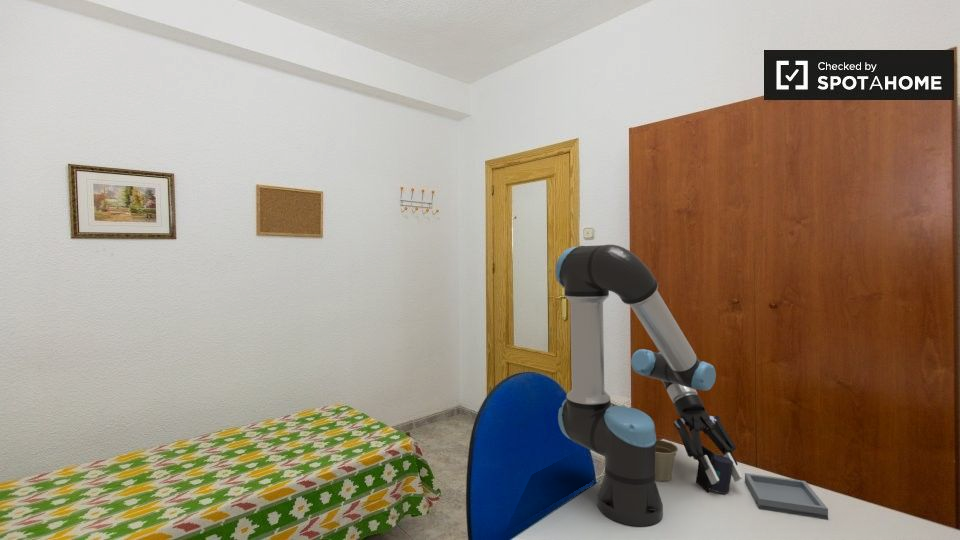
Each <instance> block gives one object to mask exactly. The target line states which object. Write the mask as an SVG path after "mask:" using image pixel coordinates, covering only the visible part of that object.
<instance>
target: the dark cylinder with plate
mask: <svg viewBox="0 0 960 540" xmlns="http://www.w3.org/2000/svg"><path fill="white" fill-rule="evenodd" d="M701 445H702V450H703V456H704V455H707V456H708V458H709V460H710V462H711V465H712V466H713V468H714V470H715V472H716V474H717V476H718V478H719V481H718V482H717V483H715V484H711V482H710V480H709V478H708V476H707V474H706V472H705V470H704V471H703V470H702V468H701V466H700V464H699V462H698V465H697V471H696V476H695V477H696V478H695V483H696V484H697V485H698V486H699V487H701V488H702V489H703V490H704V491H705V492H706V493H710V490H712V491H713V492H717V493H721V494H727V493H729V492H730V486H731V479H732V475H731V474H732V467H733V461H732V460H731V459H729V458H727V457H724V455H721V454H716V453H714V452H713V451H711V450H710V449H709V448H707V447H705V446H704V445H703V444H701Z"/></svg>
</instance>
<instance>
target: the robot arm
mask: <svg viewBox="0 0 960 540" xmlns="http://www.w3.org/2000/svg"><path fill="white" fill-rule="evenodd" d="M554 273H555V279H556V281H557V282H558V283H559V285H560V286H561V287H562V288H563V289H564V290H563V291H564V294H563V295H564V297H565V299H567V300H568V301H569V303H570V304H569V306H570V307H569V309H570V312H569V313H570V348H571V349H570V353H571V354H570V355H571V357H570V359H571V389H570V391H568V392H567V393H566V398H565V399H564V400H563V401H562V402H561V407H559V409H558V415H557V420H558V425H559V426H558V427H559V428H560V431H561V432H562V434H563V435H564V436H565V437H566V438H567V439H569V440H571V442H573V443H575V444H576V445H579V446H582V447H584V448H586V449H587V450H590V451H591V452H594V453H596V454H598V455H601V456H602V457H604V474H603V478H602V480H601V483H600V486H599V489H598V491H597V508H598V509H599V511H600V512H601V513H602V514H603V515H604V516H606V517H607V518H609V520H610V519H611V520H612V521H615V522H617V523H620V524H623V525H627V526H633V527H647V526H652V525H655V524H658V523H659V522H660V521H661V520H662V519H663V515H664V505H663V501H662V498H661V495H660V492H659V489H658V485H657V482H656V480H655V442H656V440H657V434H656V428H655V422H654V420H653V419H652V418H651V417H650V416H649V414H647V413H646V412H644V411H642V410H640V409H637V408H634V407H631V406H630V407H627V406H625V405H611V396H610V394H608V393H607V392H606V391H605V352H604V351H605V344H604V339H605V337H604V302H605V300H606V299H608V298H609V295H610V293H609V292H611V293H613V294H616V295H617V296H618V297H619V298H620V300H621V301H622V303H624V304H626V305H627V306H628V305H629V306H630V308H631V309H632V311H633V312H634V314H635V316H636V317H637V318H638V320H639V322H640V323H641V324H642V326H643V328H644V330H645V331H646V332H647V335H648V336H649V337H650V338H651V339H650V340H652V341H653V343H654V345H655V347H656V348H657V350H658V352H655V351H652V350H649V349H644V348H643V349H642V348H640V349H638V350H636V351H635V352H634V353H633V354H632V356H631V361H630V363H631V368H632V370H633V371H634V372H635V373H636V374H638V375H641V376H642V377H643V376H644V377H647V378H650V379H655V380H657V381H661V382H662V384H663V385H664V388H665V389H666V392H667V394H668V396H669V398H670V400H671V402H672V403H673V406H674V409H675V410H676V413H677V415H678V416H679V417H680V418H677V419H676V420H675V421H674V422H673V426H674V427H675V428H676V430H677V431H678V434H679V437H680V439H681V442H682V444H683V447H684V448H685V451H686V454H687V456H688V457H689V458H693V460H695V461H697V462H698V463H699V464H700V466H701V468H702V470H703V471H704V470H705V472H706V474H707V476H708V478H709V480H710V482H711V484H715V483H717V482H718V481H719V478H718V476H717V474H716V472H715V470H714V468H713V466H712V465H711V462H710V460H709V458H708V456H707V455H704V456H703V450H702V445H703V444H702V441H701V436H700V432H702V433H703V434H705V435H707V437H708V438H709V439H710V441H712V443H713V444H714V445H715V446H716V447H717V449H718V451H720V452H721V453H722V454H723V456H724V457H727V458H729V459H731V460H732V461H733V467H732V474H731V478H732V479H733V481H734V482H735V483H737V482H739V481H740V480H742V479H743V478H744V476H743V475H742V473H741V471H740V469H739V467H738V465H739V464H738V462H737V460H736V458H735V457H734V454H733V452H734V451H735V450H737V446H736V444H735V442H734V441H733V439H732V438H731V437H730V435H729V433H728V432H727V430H726V428H725V427H724V425H723V424H722V421H721V418H720V416H719V415H715V416H712V415H710V414H709V413H708V412H707V411H706V409H705V405H704V403H703V400H702V399H701V397H700V396H699V395H698V392H697V390H700V391H706V392H707V391H710V389H711V388H713V385H714V384H715V382H716V378H717V374H716V369H715V367H714V365H712V364H711V363H709V362H706V361H701V360H700V359H699V358H698V356H697V355H696V353H695V350H694V349H693V348H692V346H691V344H690V342H689V341H688V339H687V338H686V336H685V335H684V332H683V331H682V330H681V328H680V326H679V324H678V323H677V321H676V320H675V318H674V316H673V314H672V312H671V311H670V310H669V308H668V306H667V305H666V303H665V301H664V299H663V298H662V296H661V294H660V292H659V291H658V290H659V289H658V288H659V282H658V281H657V279H656V278H655V276H654V274H653V273H652V272H651V270H650V268H649V267H648V266H647V265H646V264H645V263H644V262H643V261H642V260H641V258H639V257H638V256H637V255H636V254H635V253H633V252H632V251H630V250H629V249H627V248H626V247H625V248H624V246H623V247H622V246H620V245H617V244H603V245H602V244H601V245H577V246H574V247H569V248H567V249H565V250H564V251H563V252H562V253H561V255H559V257H558V258H557V260H556V263H555V271H554ZM687 427H688V428H687Z"/></svg>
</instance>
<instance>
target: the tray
mask: <svg viewBox="0 0 960 540" xmlns="http://www.w3.org/2000/svg"><path fill="white" fill-rule="evenodd" d="M744 484H745V485H746V487H747V490H748V491H749V493H750V494H751V496H752V498H753V500H754V502H755V504H756V506H757V508H758V509H759V510H764V511H771V512H776V513H777V512H778V513H784V514H789V515H790V514H791V515H797V516H803V517H811V518H816V519H821V520H822V519H824V520H829V508H828V507H827V505H826V504H825V503H824V501H823V500H821V499H820V497H819V496H818V495H817V493H816V492H815V491H814V490H813V489H812V487H811V486H810V485H809V484H808V482H807V481H805V480H801V479H792V478H784V477H777V476H769V475H763V474H762V475H761V474H755V473H747V472H744Z"/></svg>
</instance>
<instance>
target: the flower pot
mask: <svg viewBox="0 0 960 540" xmlns="http://www.w3.org/2000/svg"><path fill="white" fill-rule="evenodd" d="M678 449H679V448H678V447H677V445H675V444H674V443H671V442H670V441H666V440H663V439H662V440H661V439H656V442H655V481H658V482H659V481H660V482H665V481H667V482H668V481H670V480H672V473H673V469H674V468H673V467H674V461H675V457H676V454H677V452H678V451H679V450H678Z"/></svg>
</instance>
